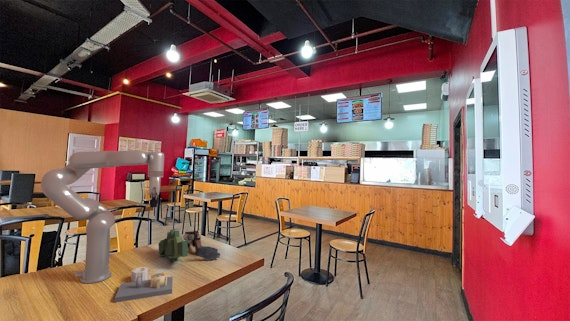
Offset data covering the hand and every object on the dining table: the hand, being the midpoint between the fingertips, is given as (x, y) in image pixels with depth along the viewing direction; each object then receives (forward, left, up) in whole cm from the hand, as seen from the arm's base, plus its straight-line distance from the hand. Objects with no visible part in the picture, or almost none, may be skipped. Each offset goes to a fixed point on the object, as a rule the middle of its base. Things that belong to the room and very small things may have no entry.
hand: (154, 205), depth 132 cm
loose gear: (-4, -9, -36) cm, 37 cm away
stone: (+31, +5, -36) cm, 48 cm away
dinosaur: (+12, +12, -36) cm, 40 cm away
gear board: (0, -21, -36) cm, 42 cm away
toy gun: (+23, +30, -36) cm, 52 cm away
